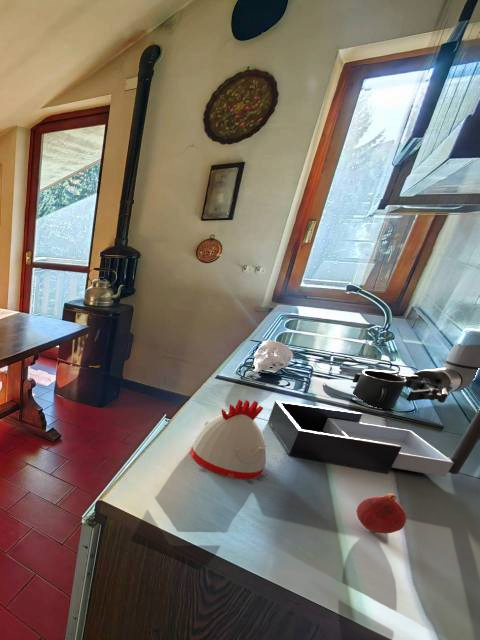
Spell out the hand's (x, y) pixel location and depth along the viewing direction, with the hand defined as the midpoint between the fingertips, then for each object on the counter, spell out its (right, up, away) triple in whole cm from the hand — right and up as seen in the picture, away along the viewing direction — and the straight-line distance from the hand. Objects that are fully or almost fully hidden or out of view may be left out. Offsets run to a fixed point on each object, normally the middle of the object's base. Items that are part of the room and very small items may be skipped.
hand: (381, 386), depth 114 cm
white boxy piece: (-25, -15, -24) cm, 38 cm away
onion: (-51, -25, -46) cm, 74 cm away
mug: (-1, -6, +2) cm, 6 cm away
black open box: (-36, -14, -20) cm, 43 cm away
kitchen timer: (-64, -17, -27) cm, 71 cm away
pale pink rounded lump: (-11, +6, +30) cm, 32 cm away
